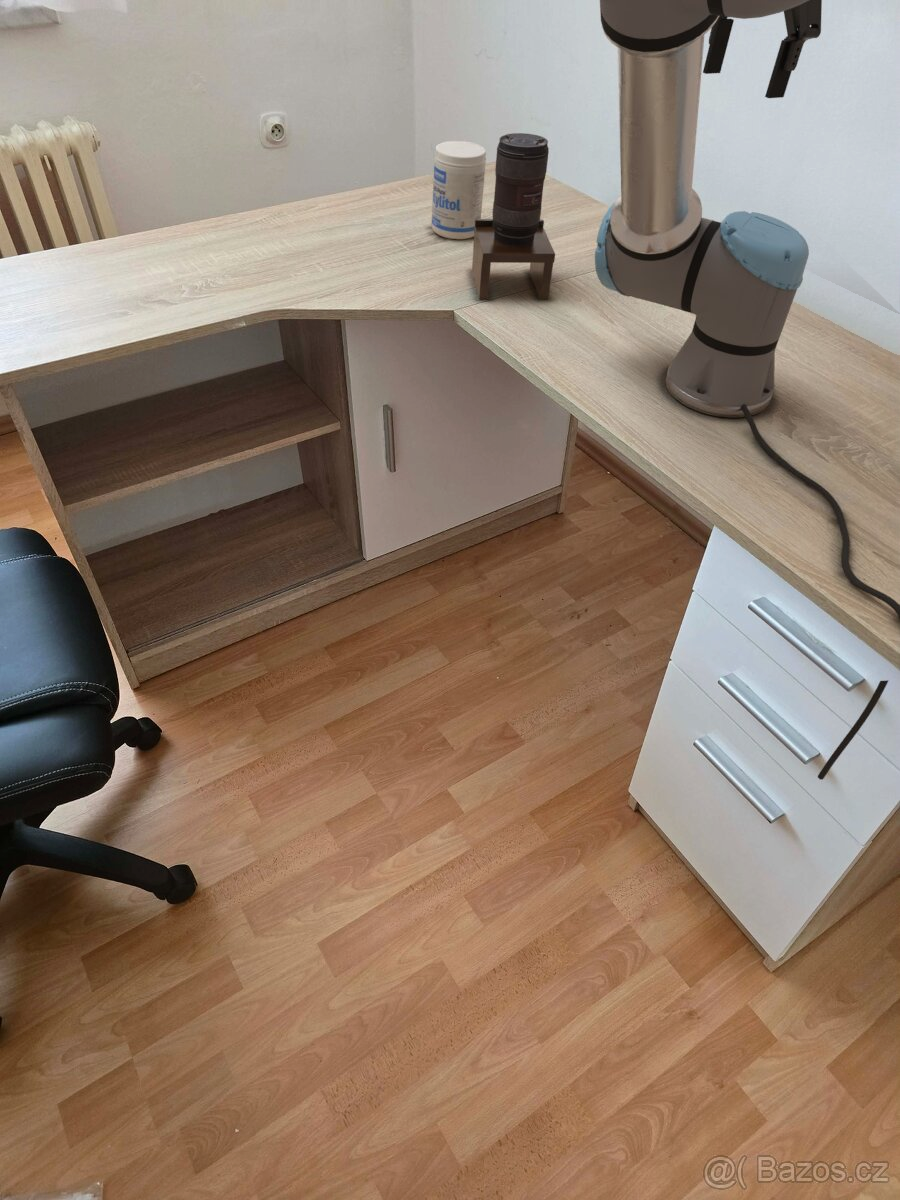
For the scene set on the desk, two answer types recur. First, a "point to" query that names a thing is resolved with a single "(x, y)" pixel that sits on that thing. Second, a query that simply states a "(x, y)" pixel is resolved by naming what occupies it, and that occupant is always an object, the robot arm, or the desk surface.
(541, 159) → the camera lens
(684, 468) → the desk surface
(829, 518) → the desk surface
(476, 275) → the block
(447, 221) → the supplement tub
